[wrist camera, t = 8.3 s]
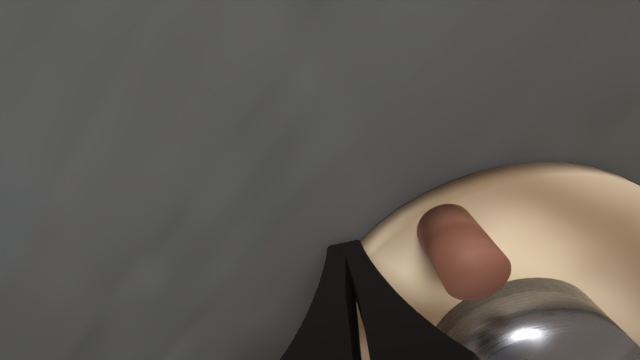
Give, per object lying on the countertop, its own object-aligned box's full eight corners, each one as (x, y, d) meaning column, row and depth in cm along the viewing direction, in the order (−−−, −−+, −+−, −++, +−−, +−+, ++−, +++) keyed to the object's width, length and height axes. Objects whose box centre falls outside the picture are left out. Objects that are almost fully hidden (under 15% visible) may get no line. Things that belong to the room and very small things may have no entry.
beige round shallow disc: (547, 418, 24) (595, 496, 20) (294, 397, 22) (292, 482, 18) (759, 201, 16) (913, 263, 12) (383, 121, 13) (417, 165, 9)
